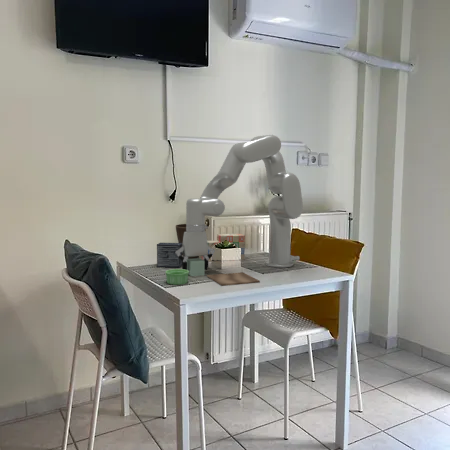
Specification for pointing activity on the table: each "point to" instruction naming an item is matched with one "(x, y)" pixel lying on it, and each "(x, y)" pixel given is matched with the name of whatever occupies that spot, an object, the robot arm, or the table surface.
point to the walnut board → (232, 278)
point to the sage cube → (196, 267)
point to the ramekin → (177, 276)
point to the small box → (168, 255)
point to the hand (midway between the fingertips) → (195, 270)
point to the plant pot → (180, 233)
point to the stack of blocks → (232, 238)
